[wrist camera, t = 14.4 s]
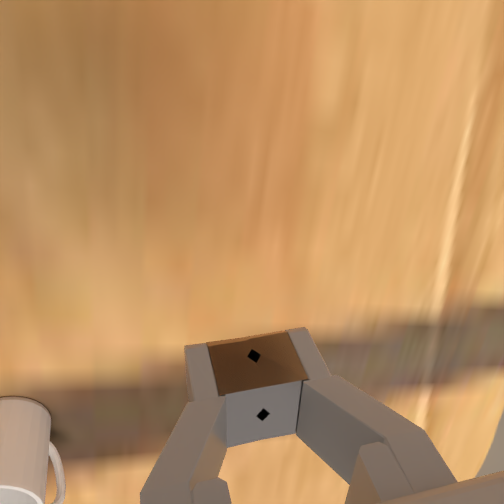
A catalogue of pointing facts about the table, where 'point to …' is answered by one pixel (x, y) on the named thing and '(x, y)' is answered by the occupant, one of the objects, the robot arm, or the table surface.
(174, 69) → the table surface
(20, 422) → the mug
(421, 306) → the table surface
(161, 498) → the robot arm
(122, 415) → the table surface
